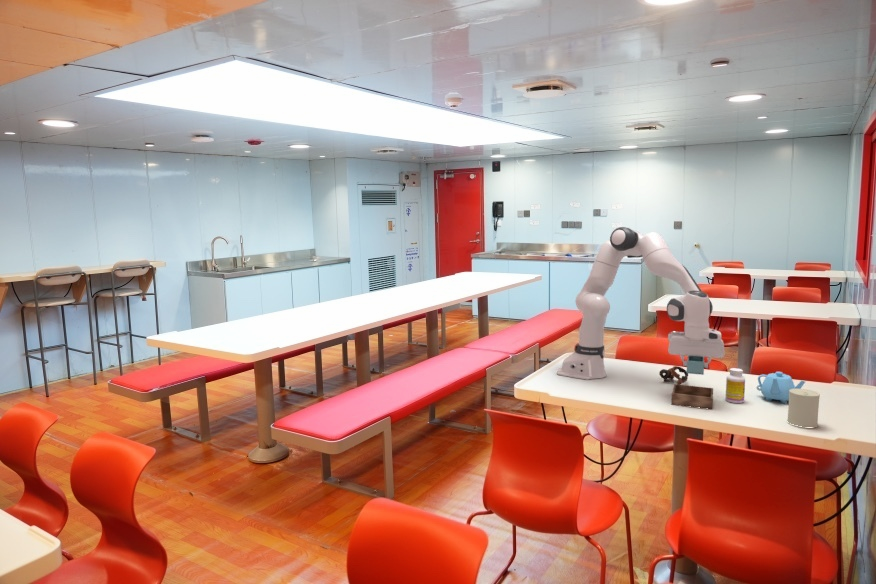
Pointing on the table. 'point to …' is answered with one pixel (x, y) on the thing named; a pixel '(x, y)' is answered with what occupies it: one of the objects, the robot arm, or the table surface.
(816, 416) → the can
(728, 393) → the supplement bottle
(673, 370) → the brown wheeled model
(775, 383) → the teapot
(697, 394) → the crate
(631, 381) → the table surface
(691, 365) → the tote
